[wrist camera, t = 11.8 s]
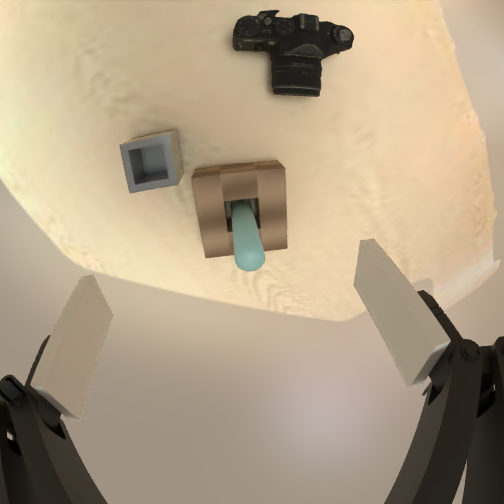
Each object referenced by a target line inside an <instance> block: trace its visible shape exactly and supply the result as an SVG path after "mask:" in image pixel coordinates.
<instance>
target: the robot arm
mask: <svg viewBox="0 0 504 504" xmlns="http://www.w3.org/2000/svg"><path fill="white" fill-rule="evenodd" d="M354 287H355V289H356V290H357V292H358V294H359V296H360V297H361V299H362V301H363V303H364V304H365V306H366V308H367V310H368V312H369V313H370V315H371V317H372V319H373V321H374V323H375V325H376V326H377V328H378V330H379V332H380V334H381V335H382V338H383V340H384V342H385V343H386V346H387V347H388V349H389V351H390V353H391V355H392V357H393V359H394V361H395V363H396V366H397V367H398V370H399V372H400V374H401V376H402V378H403V380H404V382H405V384H406V386H407V388H408V389H410V388H412V387H415V386H417V385H420V384H422V383H423V382H424V381H425V380H426V378H427V376H428V375H429V377H430V378H431V382H430V384H429V385H428V386H427V388H426V389H425V390H424V392H423V394H422V395H425V394H426V393H427V396H426V400H425V403H424V407H423V410H422V413H421V417H420V420H419V423H418V426H417V429H416V432H415V435H414V438H413V441H412V443H411V446H410V449H409V451H408V454H407V456H406V458H405V461H404V463H403V466H402V468H401V470H400V472H399V475H398V477H397V479H396V481H395V483H394V485H393V487H392V490H391V491H390V494H389V496H388V497H387V499H386V501H385V503H384V504H452V502H453V500H454V497H455V494H456V491H457V489H458V486H459V483H460V480H461V477H462V474H463V471H464V468H465V464H466V461H467V469H466V479H465V487H464V493H463V499H462V504H504V336H503V337H499V338H498V339H497V340H496V342H495V343H494V344H493V345H492V346H481V347H479V346H478V344H476V343H475V342H474V341H472V340H469V339H463V338H462V337H461V335H460V334H459V332H458V331H457V330H456V328H455V327H454V325H453V324H452V322H451V321H450V320H449V318H448V317H447V315H446V314H444V311H443V310H442V309H441V307H439V305H438V303H437V302H436V301H435V299H434V298H433V297H432V296H431V295H429V294H428V293H427V292H425V291H424V290H422V291H418V292H417V291H416V290H415V289H414V287H413V286H412V285H411V284H410V282H409V281H408V280H407V278H406V277H405V276H404V275H403V273H402V272H401V271H400V270H399V268H398V267H397V266H396V265H395V263H394V262H393V261H392V260H391V258H390V257H389V256H388V255H387V254H386V252H385V251H384V250H383V249H382V248H381V246H380V245H379V244H378V243H377V242H376V241H375V239H368V240H360V246H359V253H358V260H357V267H356V273H355V279H354ZM112 317H113V313H112V311H111V309H110V307H109V306H108V304H107V302H106V300H105V298H104V296H103V294H102V292H101V290H100V288H99V286H98V284H97V282H96V279H95V277H94V275H89V276H82V277H81V279H80V280H79V282H78V284H77V286H76V287H75V289H74V291H73V293H72V295H71V296H70V298H69V300H68V302H67V304H66V306H65V308H64V310H63V311H62V313H61V316H60V317H59V319H58V321H57V324H56V325H55V328H54V329H53V332H52V334H51V335H49V336H48V337H47V338H46V339H45V341H44V342H43V343H42V345H41V347H40V349H39V352H38V354H37V356H36V359H35V361H34V363H33V365H32V368H31V370H30V373H29V375H28V379H27V381H26V383H25V386H23V385H22V384H21V383H20V382H19V381H18V380H17V379H16V378H15V377H14V376H13V375H7V376H5V377H3V379H1V381H0V397H1V398H0V504H107V502H106V500H105V499H104V497H103V496H102V494H101V493H100V491H99V490H98V488H97V486H96V485H95V483H94V482H93V480H92V478H91V477H90V475H89V473H88V471H87V469H86V468H85V466H84V464H83V462H82V460H81V458H80V456H79V454H78V452H77V450H76V448H75V446H74V444H73V442H72V440H71V438H70V436H69V434H68V431H67V429H66V426H65V424H64V422H63V421H62V420H61V419H60V416H61V413H62V414H63V415H64V416H65V417H67V418H68V419H69V420H74V421H79V422H82V420H83V415H84V411H85V407H86V402H87V399H88V395H89V391H90V387H91V383H92V379H93V376H94V373H95V369H96V366H97V362H98V359H99V355H100V353H101V349H102V346H103V343H104V340H105V337H106V334H107V331H108V328H109V325H110V322H111V320H112ZM494 384H495V390H494ZM427 391H428V392H427ZM7 432H8V433H9V434H11V435H12V437H13V439H12V440H10V439H9V438H7Z"/></svg>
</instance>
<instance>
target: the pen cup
mask: <svg viewBox="0 0 504 504" xmlns="http://www.w3.org/2000/svg"><path fill="white" fill-rule="evenodd" d="M120 149H121V155H122V160H123V165H124V170H125V174H126V179H127V183H128V188H129V192H130V193H134V192H139V191H145V190H150V189H156V188H162V187H168V186H174V185H178V184H179V182H180V180H181V178H182V176H183V174H184V170H183V163H182V157H181V150H180V144H179V137H178V129H177V130H171V131H166V132H161V133H156V134H151V135H146V136H142V137H137V138H133V139H131V140H129V141H127V142H125V143H122V144H120Z"/></svg>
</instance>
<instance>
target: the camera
mask: <svg viewBox="0 0 504 504" xmlns="http://www.w3.org/2000/svg"><path fill="white" fill-rule="evenodd" d="M278 12H279V10H269V11H260V12H259V14H258V15H257V16H250V15H248V16H244V17H242V18H240V19H238V21H237V23H236V25H235V28H234V30H233V48H234V50H236V51H240V50H242V51H269V52H271V60H272V61H273V62H272V65H271V68H272V76H273V77H272V87H273V93H274V94H276V95H293V96H312V97H318V96H319V95H320V90H321V79H320V78H321V72H322V66H321V60H322V59H324V58H326V57H328V56H330V55H333V54H336V53H337V54H339V53H340V52H342V51H345V50H348V49H350V48H351V47H352V43H353V40H354V35H353V33H352V31H351V30H350V29H349V28H347V27H345V26H342V25H335V24H334V23H331V22H327V21H324V22H320V21H319V18H318V16H315V15H308V14H302V13H300V14H298V15H294V16H293V17H291V18H283V17H275V15H276V14H277V13H278Z"/></svg>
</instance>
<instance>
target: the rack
mask: <svg viewBox="0 0 504 504" xmlns="http://www.w3.org/2000/svg"><path fill="white" fill-rule="evenodd" d="M191 179H192V185H193V191H194V197H195V203H196V209H197V215H198V220H199V226H200V231H201V237H202V242H203V247H204V253H205V258H212V257H221V256H229V255H235V252H234V241H233V229H232V218H227V214H226V206H225V201H232V200H241V199H250V198H255V200H256V212H257V215H254V217H255V220H256V224H257V228H258V232H259V235H260V239H261V243H262V247H263V250H264V251H271V250H279V249H287V210H286V181H285V168H284V167H283V166H282V164H281V163H280V162H279V161H278V160H276V161H263V162H253V163H243V164H233V165H225V166H217V167H209V168H202V169H195V171H194V174H193V176H192V178H191Z"/></svg>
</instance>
